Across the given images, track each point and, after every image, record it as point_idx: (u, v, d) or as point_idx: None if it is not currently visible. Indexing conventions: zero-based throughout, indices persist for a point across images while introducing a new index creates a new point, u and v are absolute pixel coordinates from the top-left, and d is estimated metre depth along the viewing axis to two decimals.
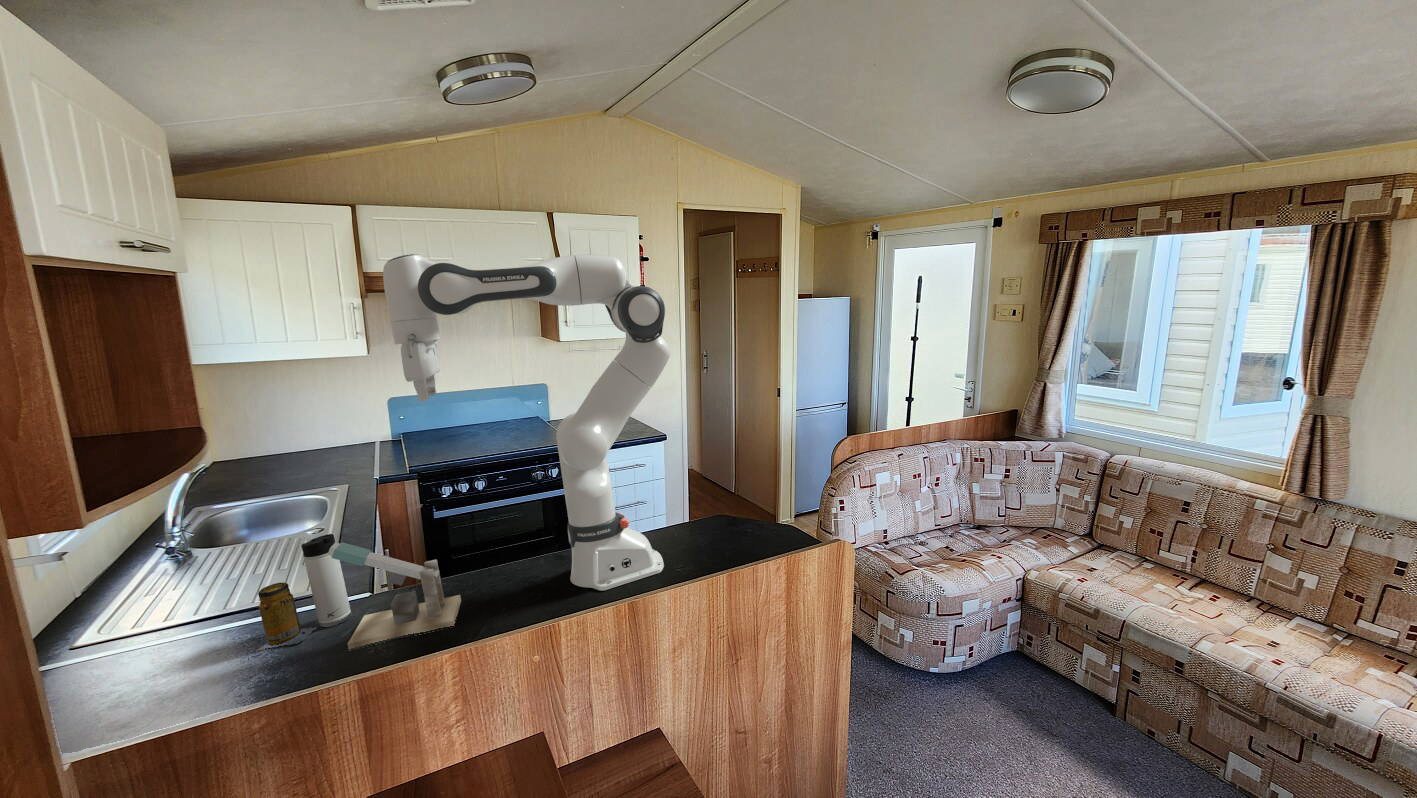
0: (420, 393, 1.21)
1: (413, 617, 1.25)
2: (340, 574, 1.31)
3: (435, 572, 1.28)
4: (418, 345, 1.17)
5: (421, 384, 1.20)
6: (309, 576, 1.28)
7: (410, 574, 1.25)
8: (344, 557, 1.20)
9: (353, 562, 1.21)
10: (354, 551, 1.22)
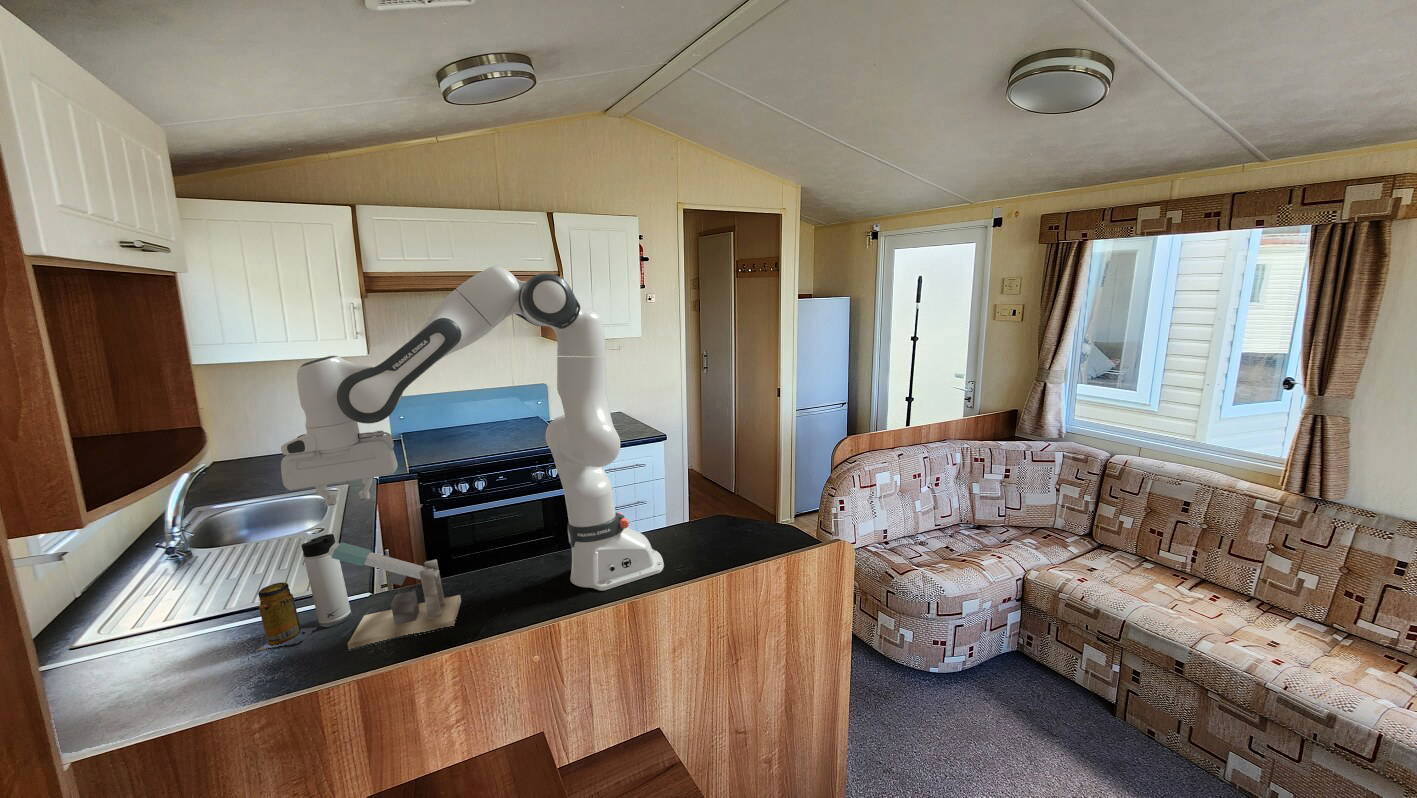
0: (367, 491, 1.22)
1: (413, 617, 1.25)
2: (340, 574, 1.31)
3: (435, 572, 1.28)
4: None
5: (371, 480, 1.22)
6: (309, 576, 1.28)
7: (410, 574, 1.25)
8: (344, 557, 1.20)
9: (353, 562, 1.21)
10: (354, 551, 1.22)
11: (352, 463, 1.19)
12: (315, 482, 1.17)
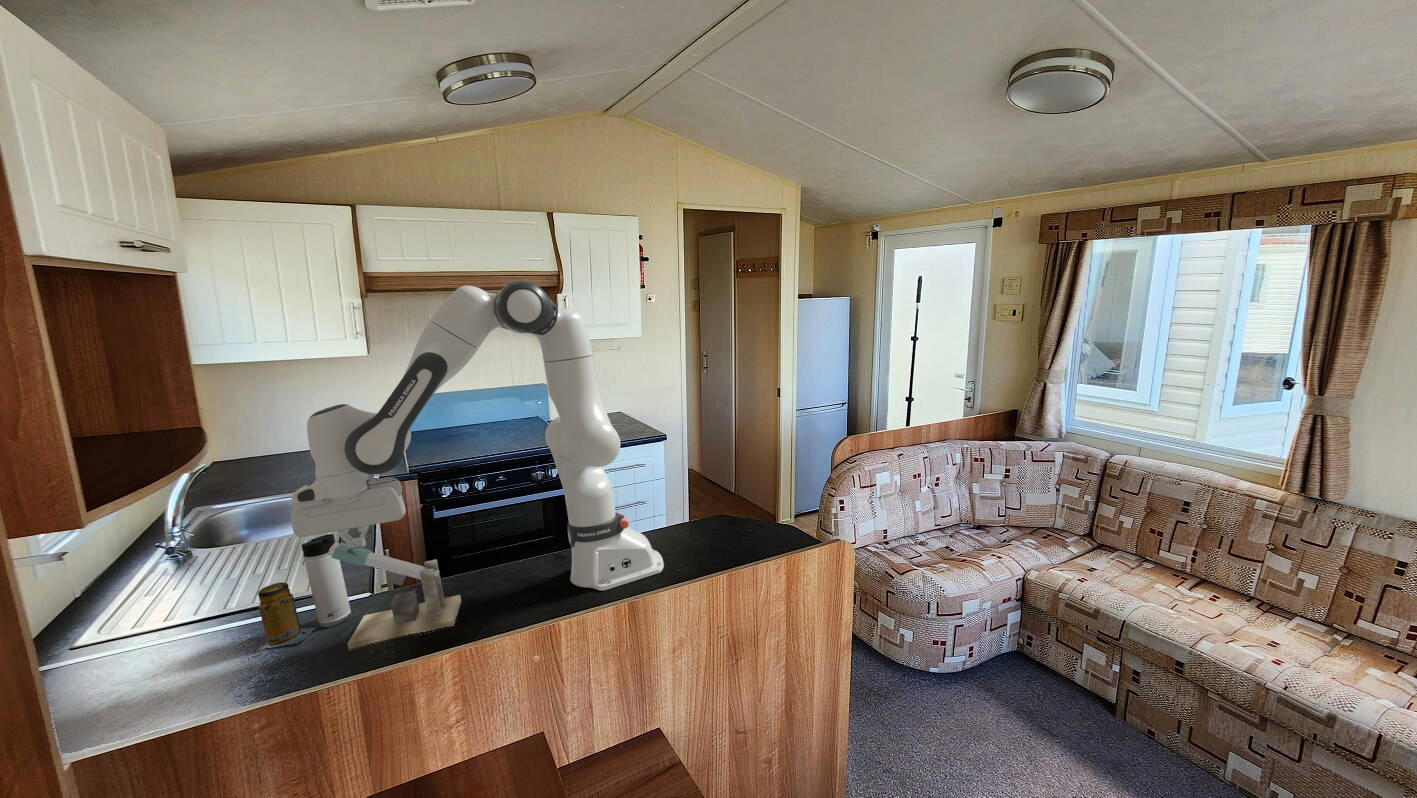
0: (363, 538, 1.22)
1: (413, 617, 1.25)
2: (340, 574, 1.31)
3: (435, 572, 1.28)
4: None
5: (367, 528, 1.23)
6: (309, 576, 1.28)
7: (410, 574, 1.25)
8: (344, 557, 1.20)
9: (353, 562, 1.21)
10: (354, 551, 1.22)
11: (361, 510, 1.20)
12: (324, 529, 1.19)
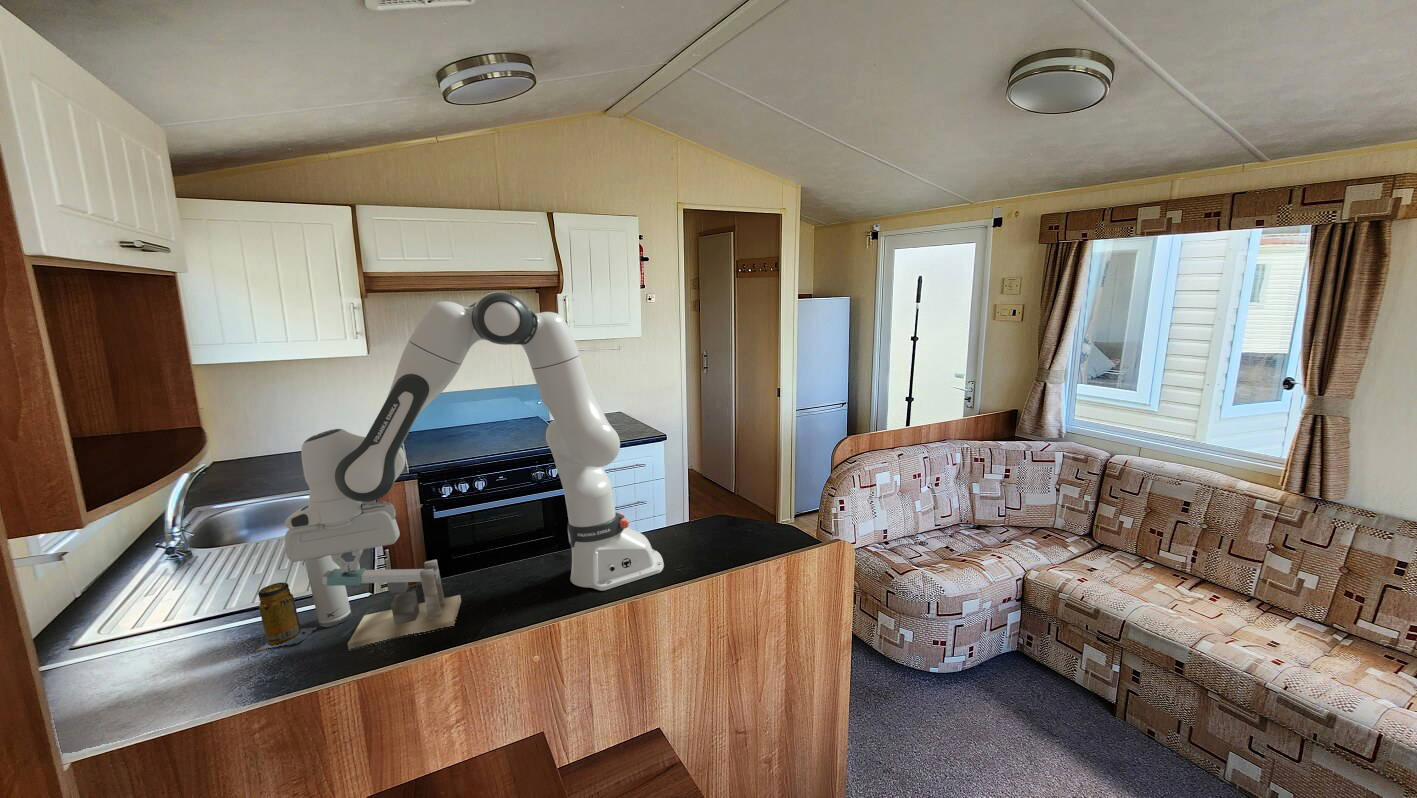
0: (357, 562, 1.23)
1: (413, 617, 1.25)
2: None
3: (434, 571, 1.28)
4: None
5: (361, 552, 1.23)
6: (309, 576, 1.28)
7: (409, 579, 1.25)
8: (339, 581, 1.20)
9: (349, 584, 1.21)
10: (347, 573, 1.22)
11: (355, 534, 1.21)
12: (318, 554, 1.19)
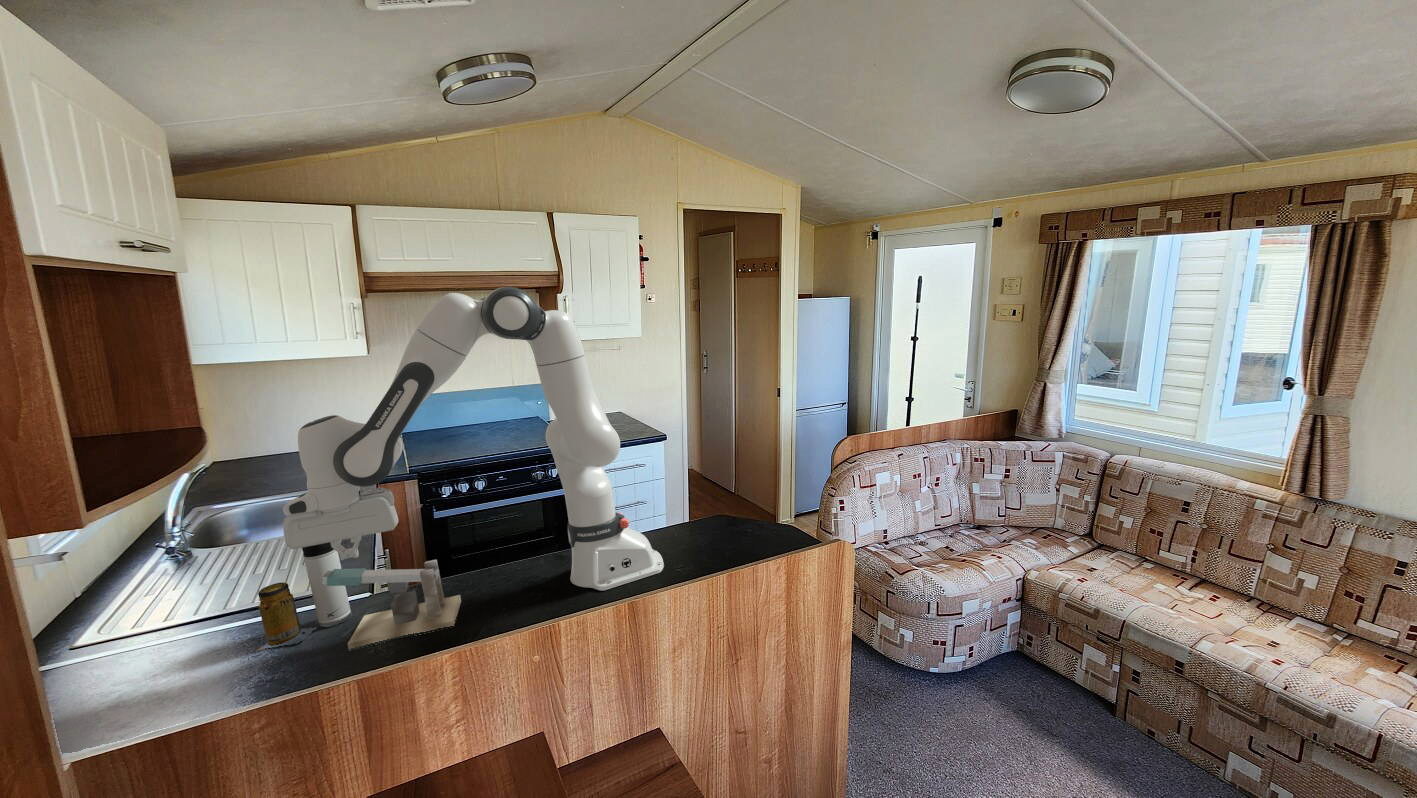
0: (356, 549, 1.22)
1: (413, 617, 1.25)
2: None
3: (434, 571, 1.28)
4: None
5: (360, 538, 1.23)
6: (309, 576, 1.28)
7: (409, 579, 1.25)
8: (339, 582, 1.20)
9: (349, 584, 1.21)
10: (347, 573, 1.22)
11: (353, 521, 1.20)
12: (317, 540, 1.19)
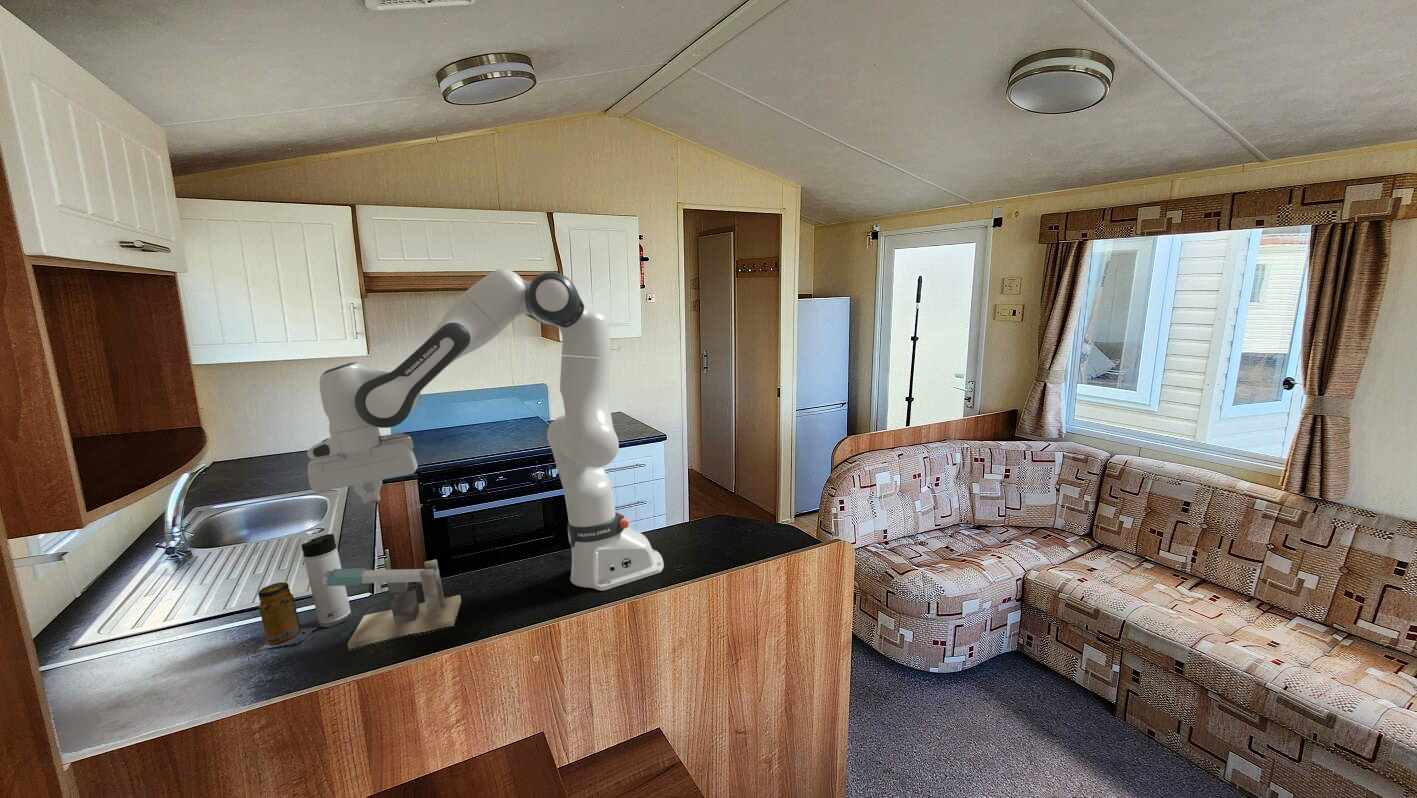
0: (377, 493, 1.27)
1: (413, 617, 1.25)
2: None
3: (434, 571, 1.28)
4: None
5: (381, 483, 1.27)
6: (309, 576, 1.28)
7: (409, 579, 1.25)
8: (339, 582, 1.20)
9: (349, 584, 1.21)
10: (347, 573, 1.22)
11: (375, 464, 1.24)
12: (340, 484, 1.23)
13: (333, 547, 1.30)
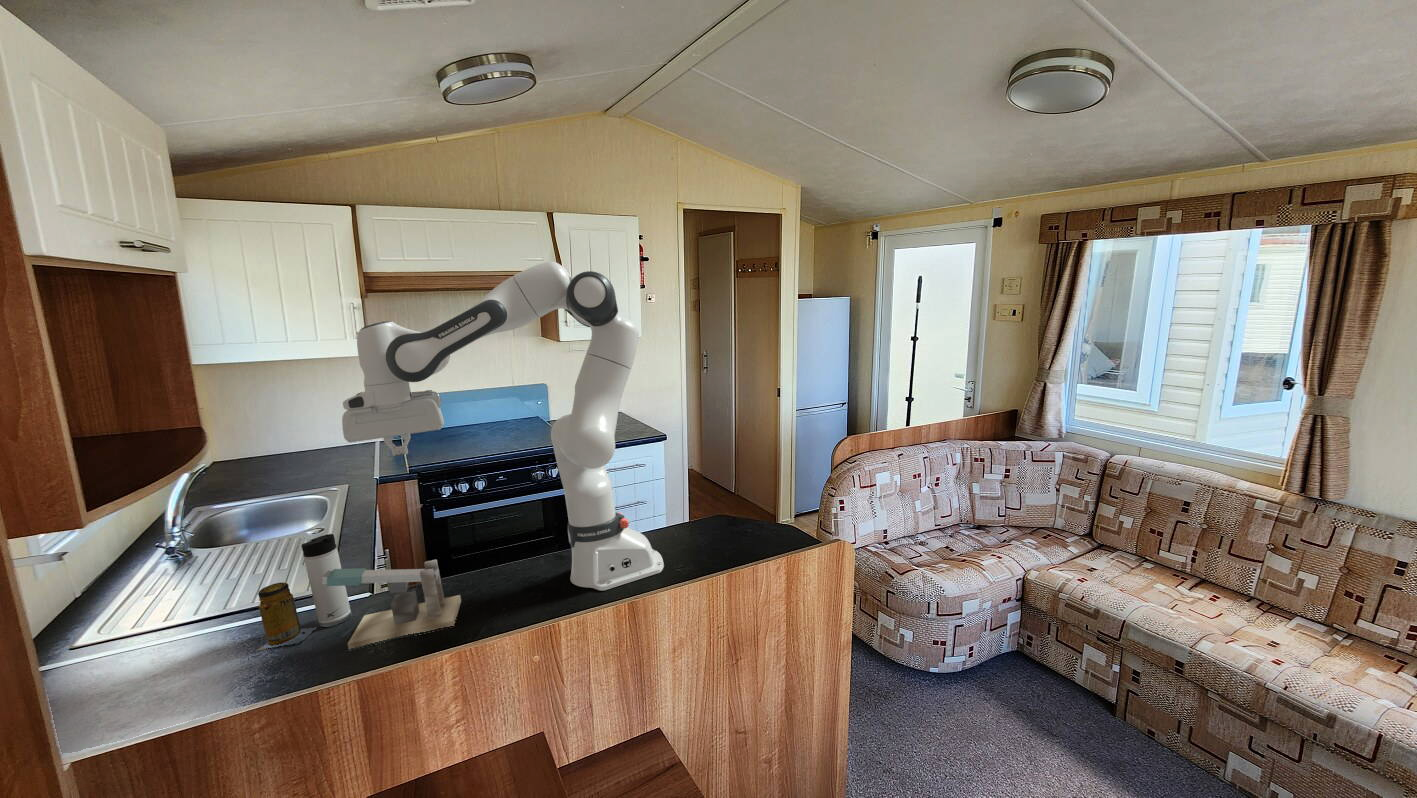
0: (406, 446, 1.33)
1: (413, 617, 1.25)
2: None
3: (434, 571, 1.28)
4: None
5: (409, 437, 1.34)
6: (309, 576, 1.28)
7: (409, 579, 1.25)
8: (339, 582, 1.20)
9: (349, 584, 1.21)
10: (347, 573, 1.22)
11: (405, 418, 1.31)
12: (372, 435, 1.30)
13: (333, 547, 1.30)
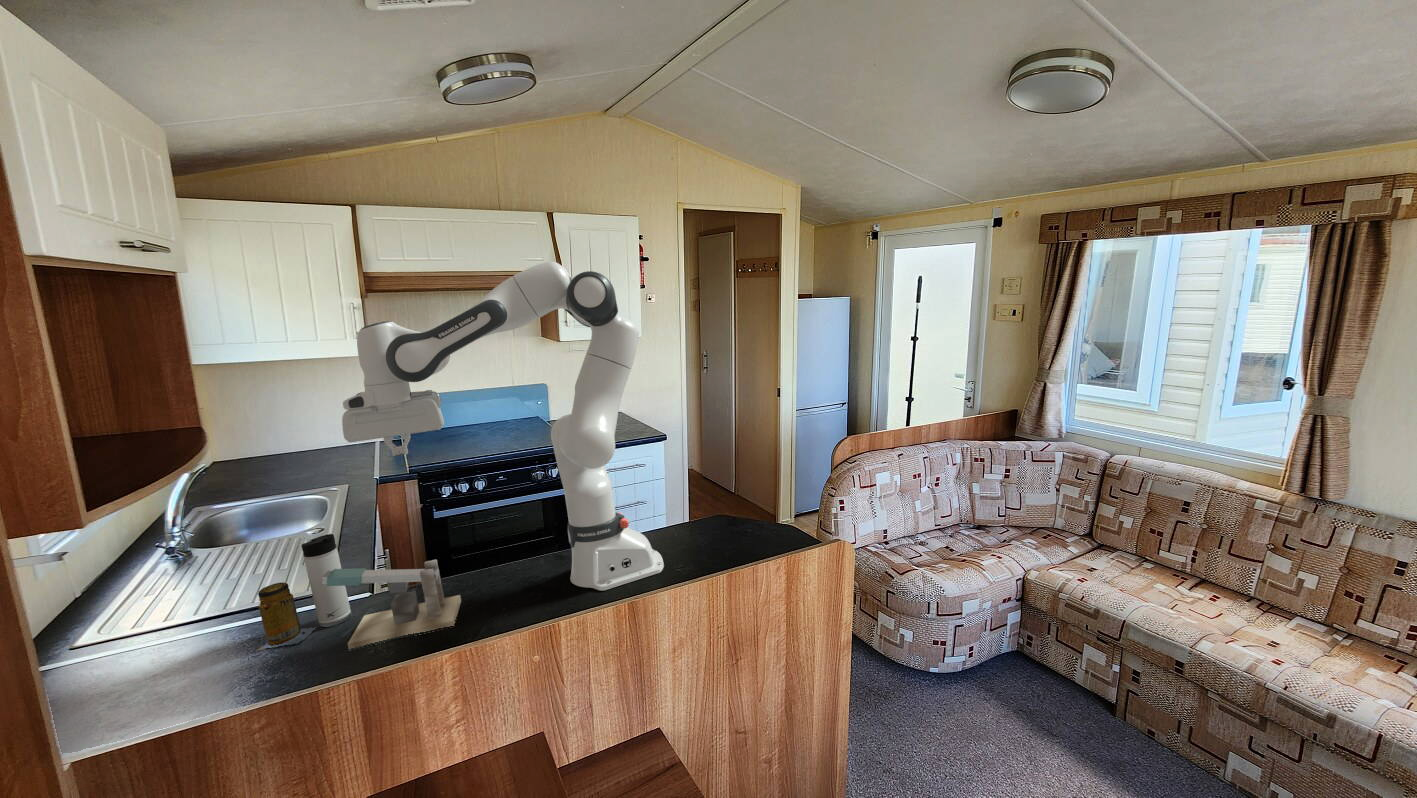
0: (406, 446, 1.33)
1: (413, 617, 1.25)
2: None
3: (434, 571, 1.28)
4: None
5: (409, 437, 1.34)
6: (309, 576, 1.28)
7: (409, 579, 1.25)
8: (339, 582, 1.20)
9: (349, 584, 1.21)
10: (347, 573, 1.22)
11: (405, 418, 1.31)
12: (372, 435, 1.30)
13: (333, 547, 1.30)
